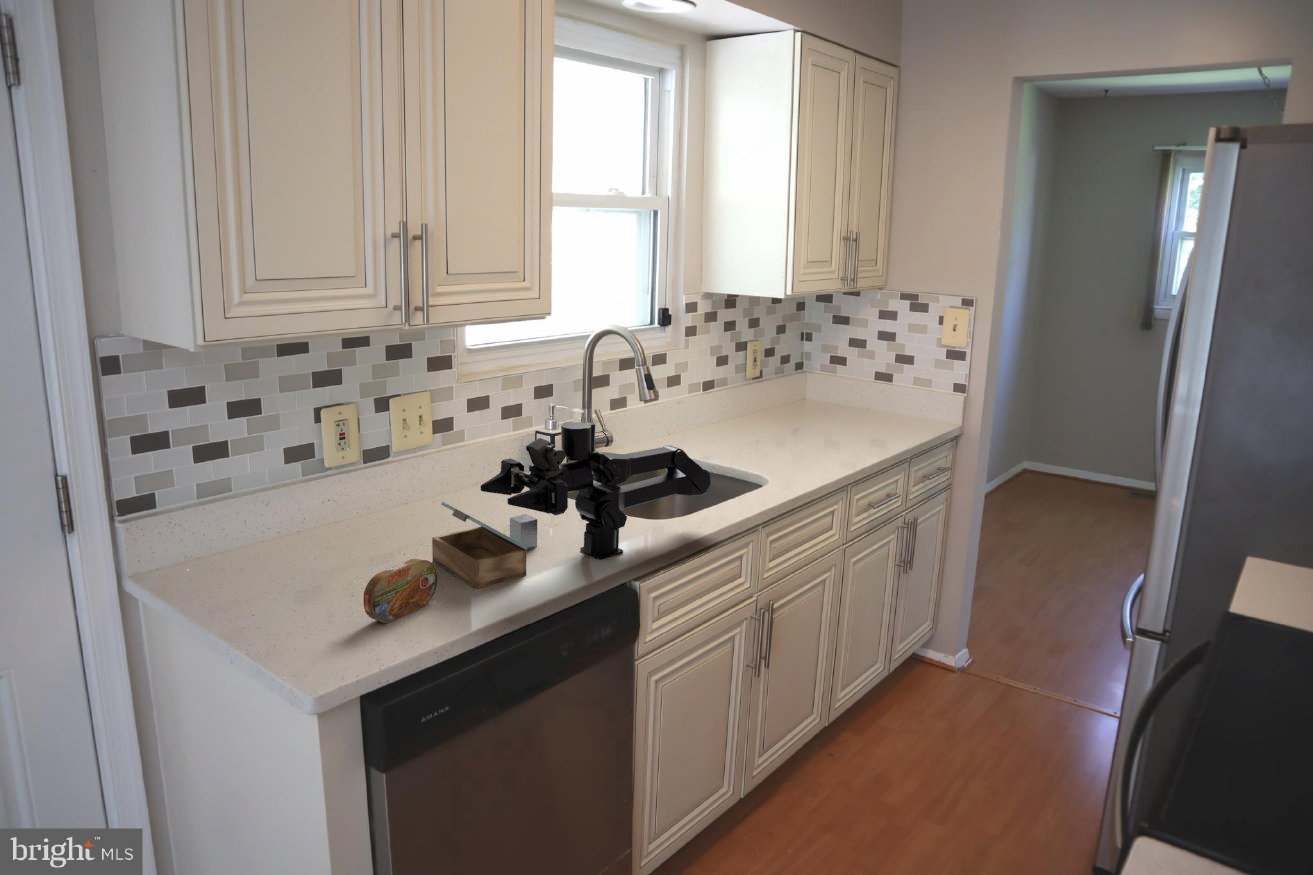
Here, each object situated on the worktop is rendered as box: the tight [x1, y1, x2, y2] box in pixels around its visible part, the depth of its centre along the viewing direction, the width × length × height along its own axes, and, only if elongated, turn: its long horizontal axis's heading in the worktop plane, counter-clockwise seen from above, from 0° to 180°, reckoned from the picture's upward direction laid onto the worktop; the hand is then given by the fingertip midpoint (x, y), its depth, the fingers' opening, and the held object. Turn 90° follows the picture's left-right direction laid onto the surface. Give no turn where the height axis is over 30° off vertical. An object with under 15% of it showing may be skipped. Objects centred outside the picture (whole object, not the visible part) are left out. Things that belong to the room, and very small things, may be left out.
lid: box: [440, 501, 528, 550], centre depth 175 cm, size 12×16×1 cm
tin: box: [363, 558, 439, 624], centre depth 156 cm, size 15×3×8 cm, turn 150°
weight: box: [509, 513, 538, 550], centre depth 188 cm, size 4×4×6 cm
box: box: [431, 526, 528, 589], centre depth 176 cm, size 11×16×5 cm
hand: (494, 494), depth 167 cm, fingers open, 9 cm apart
